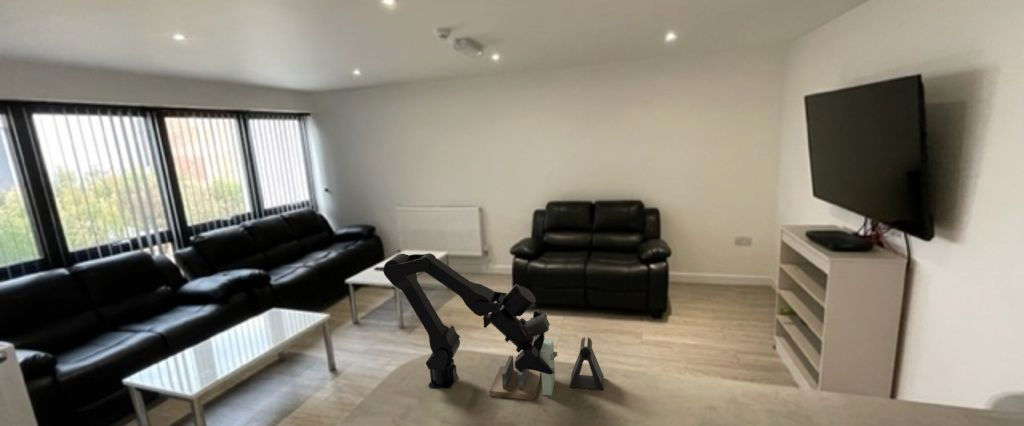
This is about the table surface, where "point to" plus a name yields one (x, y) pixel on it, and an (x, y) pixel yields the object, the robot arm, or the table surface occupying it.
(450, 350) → the robot arm
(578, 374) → the grey triangular stand
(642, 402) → the table surface
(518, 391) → the hinge base
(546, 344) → the door panel
